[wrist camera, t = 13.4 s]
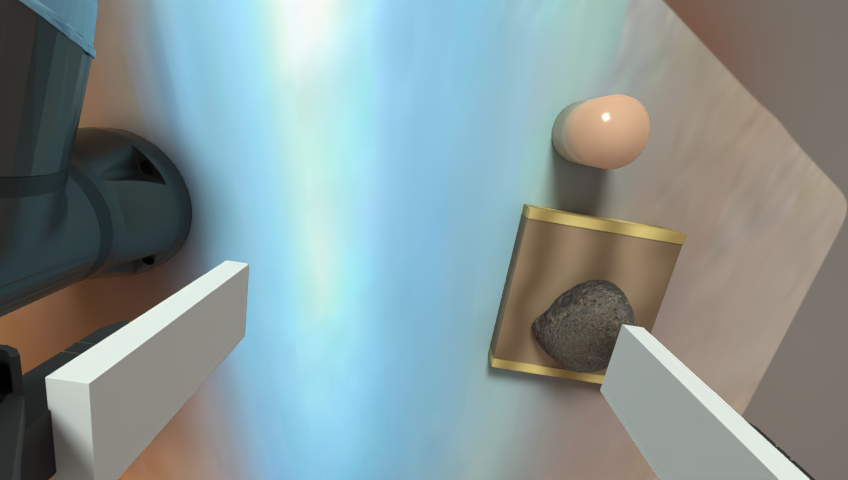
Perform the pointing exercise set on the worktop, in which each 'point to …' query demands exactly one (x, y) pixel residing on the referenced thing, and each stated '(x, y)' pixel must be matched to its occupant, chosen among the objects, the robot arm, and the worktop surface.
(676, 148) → the worktop surface
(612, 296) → the stone
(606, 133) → the peach rounded capsule
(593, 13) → the worktop surface
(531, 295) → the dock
